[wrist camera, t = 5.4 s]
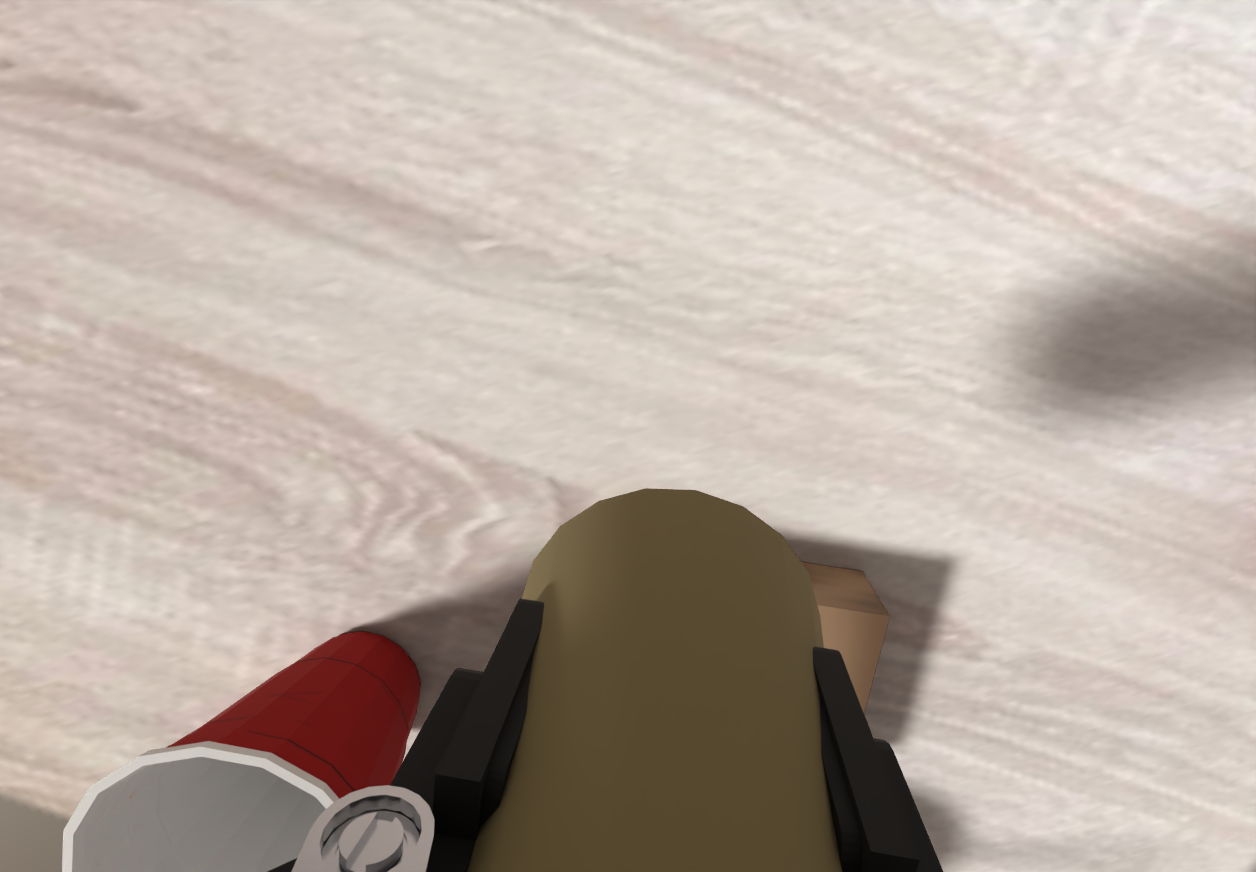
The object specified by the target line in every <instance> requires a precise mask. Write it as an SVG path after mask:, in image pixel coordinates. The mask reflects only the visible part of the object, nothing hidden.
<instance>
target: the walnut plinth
mask: <svg viewBox="0 0 1256 872" xmlns="http://www.w3.org/2000/svg"><path fill="white" fill-rule="evenodd" d="M801 563H802V564H803V566H804V567H805V569H806V570H807V571H808V573H809V576H810V580H811V584H812V587H813V591H814V595H815V598H816V602H817V606H818V609H819V613H820V618H821V627H822V635H823V644H824V648H827V649H833V650H838V651H839V652H840V653H841V655H842V658H843V661H844V663H845V666H846V668H847V671H848V674H849V676H850V679H851V682H852V684H853V687H854V689H855V692H856V695H857V697H858V700H859V702H860V705H861V708H862V710H863V713H864V712H865V708H866V704H867V700H868V697H869V693H870V689H871V685H872V682H873V678H874V674H875V670H876V667H877V663H878V659H879V655H880V652H881V648H882V644H883V640H884V637H885V633H886V629H887V625H888V622H889V618H890V616H889V614H888V612H887V611H886V609H885V607H884V606H883V604H882V602H881V601H880V599H879V597H878V596H877V594H876V592H875V591H874V589H873V587H872V586H871V584H870V582H869V581H868V579H867V578H866V576H865V574H864V573H863V571H857V570H851V569H844V568H838V567H831V566H824V565H818V564H811V563H805V562H801Z"/></svg>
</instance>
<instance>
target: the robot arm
mask: <svg viewBox="0 0 1256 872" xmlns="http://www.w3.org/2000/svg"><path fill="white" fill-rule="evenodd" d="M543 611H544V603H543V602H540V601H534V600H528V599H522V598H521V599H520V600H519V601H518V603H517V605H516V607H515V609H514V611H513V613H512V615H511V617H510V620H509V622H508V624H507V626H506V628H505V630H504V632H503V634H502V636H501V638H500V640H499V642H498V644H497V646H496V648H495V651H494V653H493V655H492V657H491V659H490V661H489V663H488V665H487V667H486V669H485V671H484V672H479V671H473V670H467V669H461V668H458V669H456V670H455V671H454V672H453V674H452V675H451V677H450V678H449V680H448V682H447V684H446V686H445V687H444V689H443V691H442V693H441V695H440V696H439V698H438V700H437V702H436V704H435V705H434V707H433V709H432V711H431V712H430V714H429V716H428V718H427V720H426V721H425V723H424V725H423V727H422V729H421V730H420V732H419V734H418V736H417V738H416V739H415V741H414V743H413V745H412V747H411V748H410V750H409V752H408V754H407V755H406V757H405V759H404V761H403V763H402V764H401V766H400V768H399V770H398V772H397V773H396V775H395V777H394V779H393V781H392V782H391V784H390V786H389V785H385V786H373V787H367V788H364V789H361V790H358V791H354V792H351V793H349V794H347V795H346V796H344V797H342V798H340V799H339V800H337V801H335V802H333V803H332V804H331V805H330V806H329V807H328V808H327V809H326V810H325V811H324V812H323V813H321V814H320V815H319V816H318V818H317V820H316V821H315V823H314V824H313V826H312V828H311V829H310V831H309V832H308V835H307V837H306V839H305V842H304V844H303V846H302V849H301V851H300V853H299V855H298V858H296V859H293V860H291V861H289V862H287V863H285V864H283V865H280V866H278V867H276V868H274V869H272V870H269V871H267V872H466V871H467V868H468V864H469V861H470V858H471V855H472V851H473V848H474V845H475V841H476V838H477V835H478V832H479V829H480V828H481V826H482V825H483V824H484V823H485V822H486V821H487V820H488V819H489V817H490V816H491V815H492V814H493V813H494V812H495V811H496V809H497V808H498V807H499V806H500V802H501V799H502V795H503V792H504V788H505V785H506V781H507V778H508V774H509V771H510V768H511V764H512V761H513V757H514V754H515V750H516V747H517V743H518V740H519V736H520V733H521V730H522V726H523V723H524V720H525V717H526V713H527V702H528V690H529V683H530V676H531V668H532V661H533V653H534V648H535V646H536V642H537V639H538V636H539V632H540V629H541V626H542V620H543ZM813 665H814V671H815V676H816V681H817V686H818V691H819V694H820V725H821V755H822V761H823V766H824V772H825V778H826V783H827V789H828V795H829V800H830V806H831V811H832V817H833V823H834V828H835V834H836V840H837V845H838V851H839V857H840V864H841V868H842V872H943V870H942V868H941V865H940V863H939V860H938V858H937V856H936V853H935V851H934V848H933V846H932V844H931V841H930V839H929V836H928V834H927V831H926V829H925V827H924V824H923V822H922V819H921V817H920V814H919V812H918V810H917V807H916V805H915V802H914V800H913V798H912V795H911V793H910V790H909V788H908V785H907V783H906V781H905V778H904V776H903V773H902V771H901V768H900V766H899V764H898V761H897V759H896V756H895V754H894V752H893V750H892V748H891V746H890V744H889V743H887V742H886V741H885V740H880V739H874V738H873V736H872V734H871V731H870V729H869V726H868V723H867V721H866V718H865V716H864V713H863V710H862V708H861V705H860V702H859V700H858V697H857V695H856V692H855V689H854V687H853V684H852V682H851V679H850V676H849V674H848V671H847V668H846V666H845V663H844V661H843V658H842V655H841V653H840V652H839V651H838V650H833V649H827V648H821V647H813Z"/></svg>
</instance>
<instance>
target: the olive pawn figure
mask: <svg viewBox="0 0 1256 872" xmlns="http://www.w3.org/2000/svg"><path fill="white" fill-rule="evenodd" d="M522 599H528V600H534V601H540V602H543V603H544V611H543V620H542V626H541V629H540V632H539V636H538V639H537V642H536V646H535V648H534V653H533V661H532V668H531V676H530V683H529V690H528V702H527V713H526V717H525V720H524V723H523V726H522V730H521V733H520V736H519V740H518V743H517V747H516V750H515V754H514V757H513V761H512V764H511V768H510V771H509V774H508V778H507V781H506V785H505V788H504V792H503V795H502V799H501V802H500V806H499V807H498V808H497V809H496V811H495V812H494V813H493V814H492V815H491V816H490V817H489V819H488V820H487V821H486V822H485V823H484V824H483V825H482V826H481V828H480V829H479V832H478V835H477V838H476V841H475V845H474V848H473V851H472V855H471V858H470V861H469V864H468V868H467V871H466V872H842V868H841V864H840V857H839V851H838V845H837V840H836V834H835V828H834V823H833V817H832V811H831V806H830V800H829V795H828V789H827V783H826V778H825V772H824V766H823V761H822V755H821V725H820V694H819V691H818V686H817V681H816V676H815V671H814V665H813V647H821V648H824V644H823V635H822V627H821V618H820V613H819V609H818V606H817V602H816V598H815V595H814V591H813V587H812V584H811V580H810V576H809V573H808V571H807V570H806V569H805V567H804V566H803V564H802V563H801V562H800V560H799V559H798V557H797V556H796V554H795V553H794V552H793V550H792V549H791V547H790V546H789V544H788V543H787V542H786V540H785V539H784V537H783V536H782V535H781V534H780V533H778V532H777V531H776V530H774V529H773V528H771V527H770V526H769V525H767V524H766V523H765V522H763V521H762V520H761V519H759V518H758V517H757V516H755V515H754V514H752V513H751V512H750V511H748V510H747V509H746V508H744V507H743V506H740V505H737V504H734V503H731V502H728V501H725V500H723V499H720V498H717V497H714V496H711V495H708V494H705V493H702V492H699V491H696V490H673V489H642V490H638V491H635V492H631V493H627V494H624V495H620V496H616V497H613V498H609V499H605V500H601V501H598V502H597V503H595V504H594V505H592V506H591V507H589V508H588V509H586V510H585V511H583V512H581V513H580V514H578V515H577V516H575V517H574V518H572V519H571V520H569V521H568V522H566V523H565V524H563V525H562V526H560V527H559V529H558V530H557V531H556V532H555V534H554V535H553V536H552V538H551V539H550V540H549V541H548V543H547V544H546V545H545V547H544V548H543V549H542V551H541V552H540V553H539V554H538V556H537V557H536V558H535V560H534V561H533V564H532V567H531V570H530V573H529V577H528V580H527V583H526V586H525V589H524V592H523V595H522Z"/></svg>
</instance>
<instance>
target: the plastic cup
mask: <svg viewBox="0 0 1256 872" xmlns="http://www.w3.org/2000/svg"><path fill="white" fill-rule="evenodd" d="M420 685H421V683H420V679H419V676H418V672H417V669H416V665H415V664H414V662H413V661H412V660H411V659H410V657H409V656H408V655H407V653H406V652H405V651H404V650H403V648H402V647H400V646H398V645H397V644H395V643H394V642H392V641H390V640H389V639H387V638H386V637H384V636H381V635H377V634H372V633H368V632H364V631H359V632H351V633H344V634H341V635H339V636H337V637H333V638H332V639H330V640H328V641H327V642H325V643H323V644H322V645H320V646H318V647H316V648H315V649H314V650H312V651H311V652H309V653H308V654H307V655H305V656H304V657H302V658H301V659H300V660H298V661H297V662H295V663H294V664H292V665H290V666H289V667H287V668H285V669H283V670H282V671H280V672H278V673H277V674H275V675H274V676H272V677H271V678H270V679H268V680H267V681H265V682H264V683H262V684H261V685H260V686H258V687H257V688H255V689H254V690H253V691H251V692H250V693H248V694H247V695H245V696H244V697H243V698H241V699H240V700H238V701H237V702H236V703H234V704H233V705H231V706H230V707H229V708H227V709H226V710H224V711H223V712H221V713H220V714H219V715H217V716H216V717H214V718H213V719H212V720H210V721H209V722H207V723H206V724H204V725H203V726H202V727H200V728H198V729H197V730H195V731H193V732H192V733H190V734H188V735H187V736H185V737H183V738H182V739H180V740H178V741H177V742H175V743H174V744H172V745H169V746H168V747H166V748H161V749H155V750H149V751H147V752H146V753H144V754H142V755H140V756H138V757H137V758H135V759H133V760H132V761H130V762H129V763H127V764H125V765H124V766H122V767H120V768H119V769H117V770H116V771H114V772H112V773H111V774H109V775H108V776H106V777H104V778H103V779H101V780H99V781H98V782H96V783H95V784H93V785H91V786H90V787H89V789H88V790H87V792H86V794H85V795H84V797H83V799H82V800H81V802H80V804H79V805H78V807H77V809H76V810H75V812H74V814H73V815H72V817H71V819H70V820H69V822H68V824H67V825H66V827H65V829H64V830H63V861H62V872H267V871H269V870H272V869H274V868H276V867H278V866H280V865H283V864H285V863H287V862H289V861H291V860H293V859H296V858H298V855H299V853H300V851H301V849H302V846H303V844H304V842H305V839H306V837H307V835H308V832H309V831H310V829H311V828H312V826H313V824H314V823H315V821H316V820H317V818H318V816H319V815H320V814H321V813H323V812H324V811H325V810H326V809H327V808H328V807H329V806H330V805H331V804H332V803H333V802H335V801H337V800H339V799H340V798H342V797H344V796H346V795H347V794H349V793H351V792H354V791H358V790H361V789H364V788H367V787H373V786H385V785H389V786H390V784H391V782H392V781H393V779H394V777H395V775H396V773H397V772H398V770H399V768H400V766H401V764H402V761H403V758H404V755H405V749H406V743H407V739H408V736H409V733H410V730H411V727H412V724H413V721H414V718H415V715H416V712H417V707H418V701H419V694H420Z"/></svg>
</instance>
